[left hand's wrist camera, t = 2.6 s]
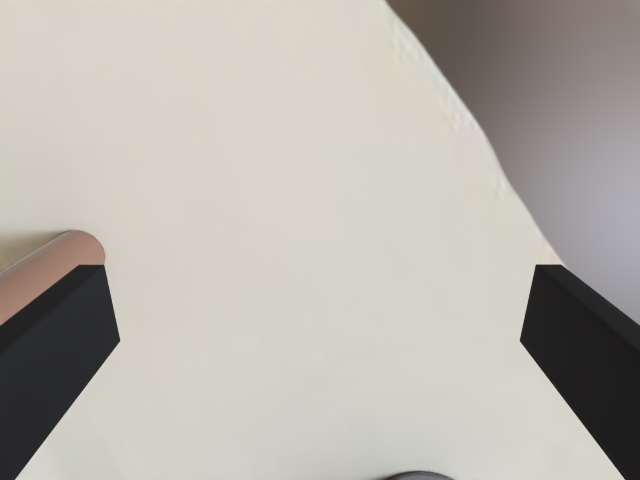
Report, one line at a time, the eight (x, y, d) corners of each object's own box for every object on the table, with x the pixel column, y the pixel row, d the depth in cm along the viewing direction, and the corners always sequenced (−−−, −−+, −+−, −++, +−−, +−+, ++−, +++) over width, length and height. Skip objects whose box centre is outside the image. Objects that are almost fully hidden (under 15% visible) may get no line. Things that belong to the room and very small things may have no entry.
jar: (44, 245, 42) (-120, 345, 26) (81, 221, 41) (-66, 309, 26) (79, 283, 44) (-57, 398, 28) (115, 260, 43) (-4, 367, 27)
